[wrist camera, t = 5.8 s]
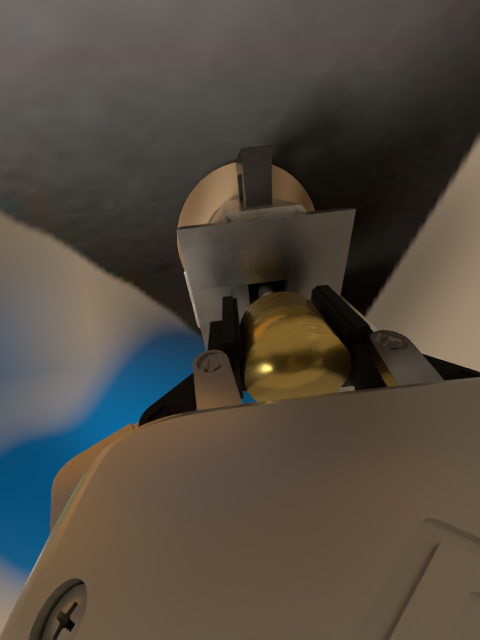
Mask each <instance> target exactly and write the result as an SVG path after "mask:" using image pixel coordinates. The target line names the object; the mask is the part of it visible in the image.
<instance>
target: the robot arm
mask: <svg viewBox="0 0 480 640" xmlns="http://www.w3.org/2000/svg"><path fill="white" fill-rule="evenodd" d="M311 302H312V303H313V304H314V305H315V307H316V308H317V309H318V311H319V312H320V313H321V315H322V316H323V317H324V319H325V320H326V322H327V323H328V324H329V326H330V327H331V328H332V330H333V331H334V332H335V334H336V335H337V336H338V338H339V339H340V340H341V342H342V343H343V344H344V346H345V347H346V348H347V350H348V351H349V353H350V356H351V364H352V365H351V371H350V373H349V376H348V378H347V380H346V381H345V382H344V384H343V385H342V386H341V387H347V386H354V387H355V391H346V392H338V393H329V394H320V395H312V396H303V397H295V398H287V399H279V400H270V401H262V402H255V403H246V404H242V401H241V399H243V398H244V397H243V391H247V388H246V385H245V378H244V359H243V350H242V341H241V332H240V322H239V313H238V305H237V298H233V296H225V297H222V320H219V321H211V322H210V330H209V340H208V349H207V351H206V352H203V353H201V354H200V355H198V357H196V358H195V360H194V362H193V373H192V374H191V375H190V376H189V377H187V378H186V379H185V380H183V381H182V382H181V383H180V384H178V385H177V386H176V387H174V388H173V389H172V390H171V391H169V392H168V393H167V394H165V395H164V396H163V397H161V398H160V399H159V400H158V401H156V402H155V403H154V404H152V405H151V406H150V407H149V408H148V409H147V410H146V411H145V412H144V413H143V415H142V416H141V418H140V421H139V422H138V423H136V424H135V425H132V424H131V423H130V424H128V425H127V426H125V427H123V428H122V429H120V430H118V431H117V432H115V433H114V434H112V435H110V436H109V437H107V438H105V439H104V440H102V441H100V442H98V443H97V444H95V445H93V446H92V447H90V448H88V449H87V450H85V451H83V452H82V453H80V454H79V455H77V456H75V457H74V458H73V459H71V460H70V461H69V462H67V463H66V464H65V465H64V466H63V467H62V468H61V470H60V471H59V472H58V474H57V476H56V477H55V479H54V481H53V485H52V494H51V495H52V496H51V524H50V536H49V538H48V540H47V542H46V544H45V546H44V548H43V550H42V552H41V554H40V556H39V558H38V560H37V562H36V563H35V566H34V567H33V570H32V571H31V573H30V575H29V577H28V579H27V581H26V583H25V585H24V587H23V589H22V591H21V594H20V596H19V598H18V600H17V602H16V604H15V606H14V608H13V611H12V612H11V614H10V617H9V619H8V621H7V623H6V625H5V627H4V629H3V631H2V633H1V635H0V640H480V372H478V371H475V370H471V369H469V368H466V367H462V366H459V365H456V364H453V363H449V362H446V361H443V360H440V359H437V358H434V357H431V356H427V355H424V354H422V353H421V352H420V351H419V350H418V349H417V348H416V346H415V345H414V344H413V343H412V342H411V341H410V340H409V339H408V338H407V337H405V336H403V335H402V334H399V333H396V332H393V331H387V330H379V331H375V332H374V331H373V330H372V329H371V328H370V325H369V324H368V323H367V322H366V321H365V320H364V319H363V318H362V317H361V316H360V315H359V314H357V313H356V312H355V311H354V310H353V309H352V308H351V307H350V306H349V305H348V304H347V303H346V302H345V301H344V300H343V299H342V298H341V297H340V296H339V295H338V294H337V293H336V292H335V291H334V290H333V289H332V288H331V287H329V286H328V285H319V286H316V287H315V289H312V292H311Z"/></svg>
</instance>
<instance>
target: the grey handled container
mask: <svg viewBox="0 0 480 640" xmlns="http://www.w3.org/2000/svg"><path fill="white" fill-rule="evenodd" d="M236 172H237V184H238V195H239V197H236V198H233V199H231V200H227V201H224V203H223V204H222V205H221V206H220V207H219V208H218V209H217V210H216V211H215V212H214V213H213V215H212V216H211V218H210V219H209V221H208V223H207V224H199V225H191V226H182V227H179V228H178V229H177V234H178V238H179V242H180V247H181V251H182V255H183V259H184V263H185V267H186V269H185V271H184V274H185V278H186V282H187V286H188V290H189V294H190V298H191V302H192V306H193V309H194V313H195V317H196V321H197V325H198V327H199V328H201V332H202V336H203V340H204V344H205V348H206V351H207V349H208V340H209V330H210V322H211V321H219V320H222V297H225V296H233V298H237V305H238V313H239V322H241V319H242V317H243V315H244V313H245V311H246V310H247V309H248V308H249V306H250V305H251V304H253V303H254V302H255V301H256V300H258V299H260V298H259V295H258V292H257V288H256V287H248V284H254V283H262V282H269V283H270V285H271V287H272V289H273V291H274V293H275V292H294V293H298V294H301V295H303V296H305V297H306V298H308V299H309V300H310V301H311V292H312V289H315V287H316V286H319V285H328V286H329V287H331V288H332V289H333V290H334V291H335V292H336V293H337V294H338V295H339V296H340V295H341V289H342V284H343V278H344V273H345V267H346V262H347V256H348V251H349V245H350V239H351V234H352V228H353V223H354V217H355V212H356V209H353V208H348V207H344V208H336V209H327V210H319V211H310V212H307V210H306V209H305V208H304V207H303V206H302V205H301V204H297V203H293V202H289V201H285V200H281V199H277V198H273V197H272V145H264V146H256V147H247V148H241V150H240V152H239V155H238V157H237V159H236Z"/></svg>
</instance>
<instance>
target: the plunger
mask: <svg viewBox="0 0 480 640" xmlns="http://www.w3.org/2000/svg"><path fill="white" fill-rule="evenodd" d="M248 287H256V288H257V292H258V295H259V298H260V299H258V300H256V301H255V302H254V303H253V304H251V305H250V306H249V308H248V309H247V310H246V311H245V313H244V315H243V317H242V319H241V322H240V332H241V341H242V350H243V359H244V378H245V385H246V388H247V391H248V392H249V394H250V395H251V396H252V397H253V398H254V399H255V400H256V401H258V402H262V401H270V400H279V399H287V398H295V397H303V396H312V395H320V394H329V393H335V392H336V391H337V390H338V389H339V388H340V387H341V386H342V385H343V384H344V382H345V381H346V380H347V378H348V376H349V373H350V371H351V365H352V364H351V356H350V353H349V351H348V350H347V348H346V347H345V346H344V344H343V343H342V342H341V340H340V339H339V338H338V336H337V335H336V334H335V332H334V331H333V330H332V328H331V327H330V326H329V324H328V323H327V322H326V320H325V319H324V317H323V316H322V315H321V313H320V312H319V311H318V309H317V308H316V307H315V305H314V304H313V303H312V302H311V301H310V300H309V299H308V298H306V297H305V296H303V295H301V294H298V293H294V292H275V293H274V291H273V289H272V287H271V285H270V283H269V282H262V283H254V284H248Z"/></svg>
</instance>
